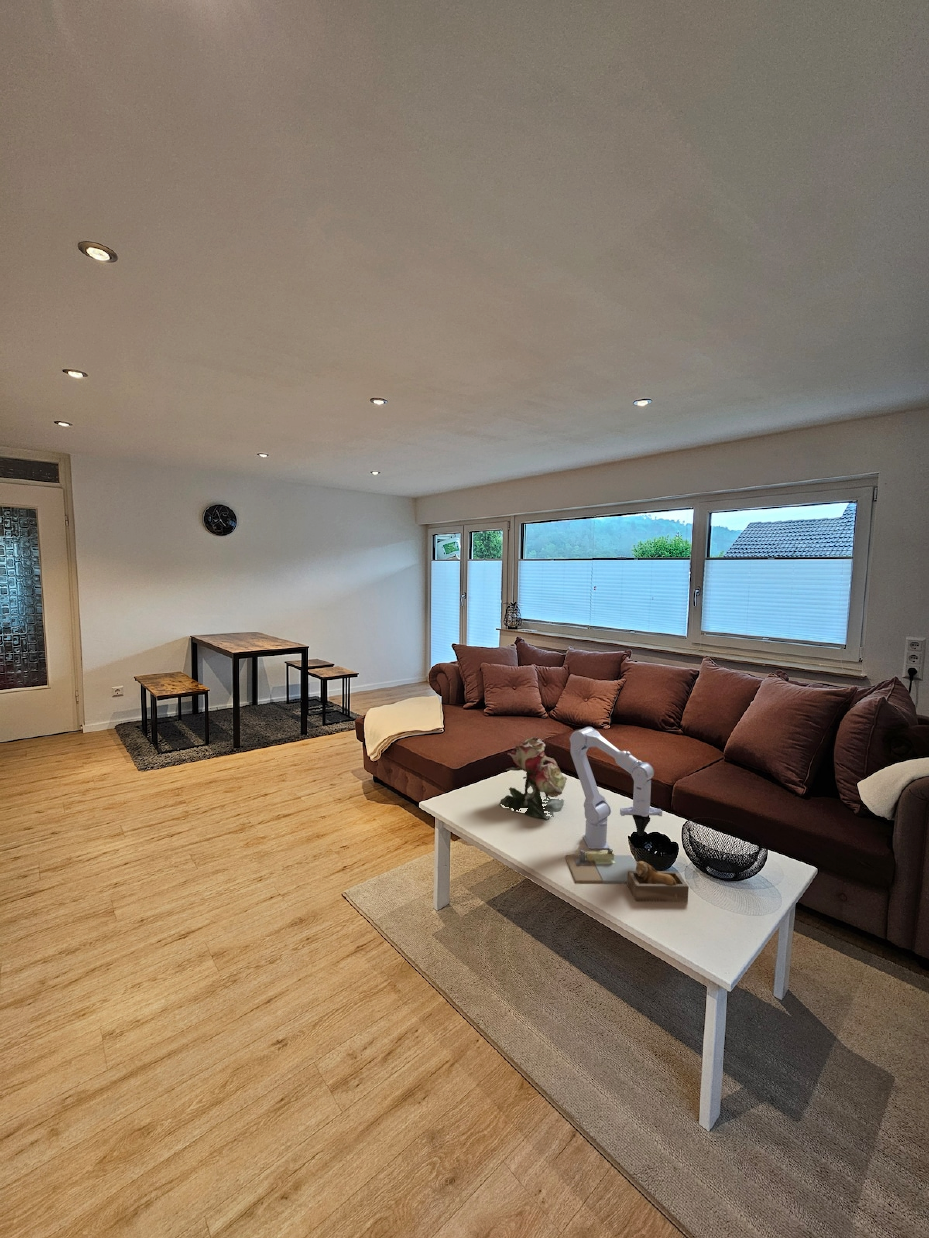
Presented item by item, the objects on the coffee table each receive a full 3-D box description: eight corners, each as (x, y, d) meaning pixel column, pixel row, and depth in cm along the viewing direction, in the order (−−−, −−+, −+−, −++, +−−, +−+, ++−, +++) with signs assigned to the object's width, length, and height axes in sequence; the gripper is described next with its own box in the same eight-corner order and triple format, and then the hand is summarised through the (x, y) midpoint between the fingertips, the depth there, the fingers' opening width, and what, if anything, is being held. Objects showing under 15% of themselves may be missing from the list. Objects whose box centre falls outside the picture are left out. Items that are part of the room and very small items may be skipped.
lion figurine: (633, 890, 166) (635, 864, 165) (635, 882, 171) (636, 856, 170) (683, 903, 160) (684, 875, 159) (683, 894, 165) (684, 867, 164)
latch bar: (587, 860, 181) (587, 851, 180) (585, 857, 183) (586, 848, 182) (613, 860, 181) (614, 851, 181) (612, 857, 183) (612, 848, 183)
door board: (565, 856, 186) (565, 844, 186) (630, 857, 187) (631, 845, 186) (575, 882, 170) (576, 869, 170) (647, 883, 171) (647, 870, 170)
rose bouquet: (558, 824, 211) (560, 753, 209) (494, 807, 225) (496, 741, 223) (576, 801, 234) (579, 737, 231) (517, 787, 248) (519, 727, 246)
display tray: (627, 885, 169) (627, 870, 169) (676, 885, 169) (677, 871, 169) (636, 901, 161) (636, 885, 160) (687, 901, 161) (688, 886, 161)
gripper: (625, 802, 178) (623, 839, 179) (666, 802, 178) (664, 840, 179) (618, 793, 185) (617, 830, 186) (658, 794, 186) (656, 830, 187)
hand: (640, 834), depth 183 cm, fingers closed
